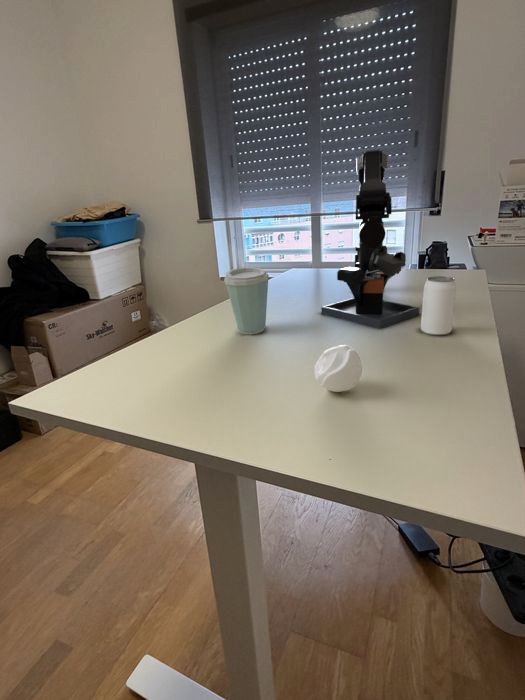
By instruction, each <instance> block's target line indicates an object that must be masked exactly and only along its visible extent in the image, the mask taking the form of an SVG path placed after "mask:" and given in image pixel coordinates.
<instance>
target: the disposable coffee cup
mask: <svg viewBox="0 0 525 700" xmlns="http://www.w3.org/2000/svg"><path fill="white" fill-rule="evenodd" d="M269 279H270V276H269V274H268V273H267V272H266V270H264V268H259V267H250V266H244V267H239V268H233V269H230V270H227V272H226V273H225V277H224V280H223V283H224V284H225V286H226V289H227V294H228V297H229V300H230V304H231V308H232V312H233V315H234V320H235V323H236V326H237V330H238V331H239V333H240V334H242V335H257V334H260V333H262V332H264V331H265V327H266V322H267V308H268V307H267V306H268V291H269V290H268V289H269Z"/></svg>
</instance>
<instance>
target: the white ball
mask: <svg viewBox="0 0 525 700" xmlns="http://www.w3.org/2000/svg"><path fill="white" fill-rule="evenodd" d="M313 369H314V378H315V380H316V381H317V382H318V384H319V385H320V386H321V388H324V389H325V390H327V391H330V392H333V393H339V392H341V393H342V392H347V391H350V390H351V389H353V388H354V387H355V386H356V385H357V384H358V383H359V381H360V379H361V377H362V375H363V363H362V359H361V356H360V355H359V353H358V352H357V350H356V349H355V348H353V347H352V346H350V345H347V344H340V345H335V346H332V347H330V348H328V349H326V350H324V351H323V352H322V354H321V355H320V357H319V358H318V359H317V361H316V363H315V365H314V367H313Z"/></svg>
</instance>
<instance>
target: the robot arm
mask: <svg viewBox="0 0 525 700" xmlns="http://www.w3.org/2000/svg"><path fill="white" fill-rule="evenodd" d="M355 164H356V166H355V168H356V169H355V170H356V171H355V172H356V173H355V175H358V181H359V183H360V185H359V188H358V189H359V190H358V193H357V194H356V195H355V220H356V221H357V220H359V221H360V220H361V221H360V223H359V228H358V229H359V231H358V236H359V237H358V238H359V239H358V246H355V252H357V253H355V254H354V267H353V266H346V267H343V268H339V269H338V271H337V273H336V280H337V281H339V282H343V283H346V285H347V287H348V289H349V290H350V292H351V294H352V296H353V298H355V300H356V302H357V304H358V306H362V303H363V294H364V286H365V285H366V284H367V283H368V281H366V280H364V279H365V275H366V277H374V276H373V274H381V276H379V277H384V287H383V292H384V291H385V288H386V285H387V283H388V281H389V280H390V279H391V278H392V277H395V276H396V275H399V274H400V272H402V268H404V267H406V264H407V263H406V262H407V259H406V257H407V256H406V253H405V252H403V251H399V252H396V253H395V254H394V253H389V252H388V247H387V245H384V240H385V239H386V229H385V227H384V226H385V225H384V221H383V219H389V218H390V215H392V210H393V207H392V205H393V204H392V196H391V193H390V192H387V184H386V183H385V182H383V181H384V179H385V178H384V177H385V173H387V172H388V171H387V170H388V154H386V153H384V152H383V149H382V150H380V149H372V150H371V149H370V150H365V151H363V152H362V154H361V155H359V156H357V157H356V163H355Z"/></svg>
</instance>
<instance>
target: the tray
mask: <svg viewBox="0 0 525 700" xmlns="http://www.w3.org/2000/svg"><path fill="white" fill-rule="evenodd" d="M320 307H321V308H320V309H321V314H322V315H324V316H325V315H326V316H329V317H332V318H337V319H341V320H345V321H348V322H352V323H356V324H359V325H360V324H361V325H365V326H368V327H371V328H376V329H379V330H380V329H382V328H385V327H389V326H391V325H395V324H396V323H400V322H403V321H405V320H408V319H410V318H413V317H416V316H418V315H419V314H420V307H419V306H415V305H409V304H403V303H399V302H393V301H388V300H384V299H383V310H382V314H357V313H356V300H355V298H354V297H351V298H347V299H344V300H340V301H336V302H333V303H330V304H326V305H323V306H320Z"/></svg>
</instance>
